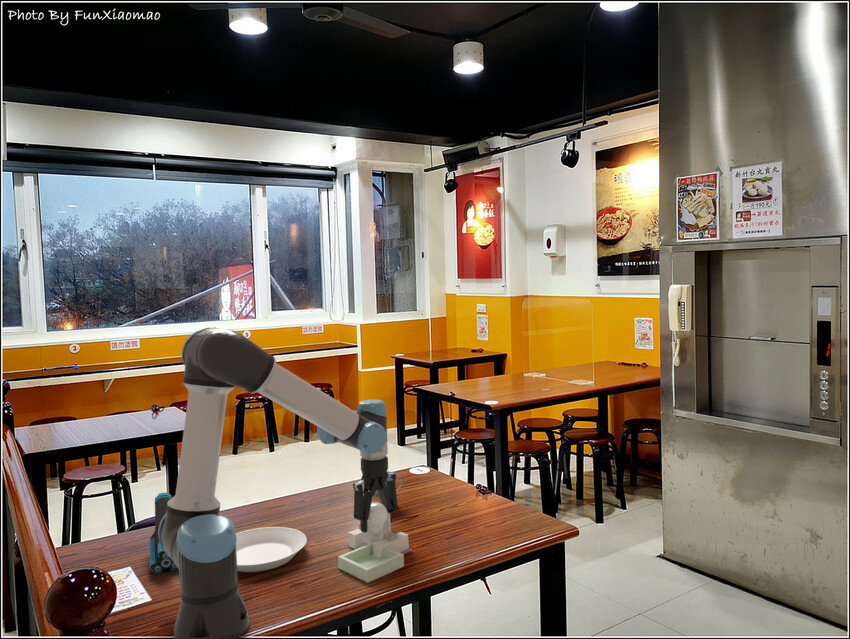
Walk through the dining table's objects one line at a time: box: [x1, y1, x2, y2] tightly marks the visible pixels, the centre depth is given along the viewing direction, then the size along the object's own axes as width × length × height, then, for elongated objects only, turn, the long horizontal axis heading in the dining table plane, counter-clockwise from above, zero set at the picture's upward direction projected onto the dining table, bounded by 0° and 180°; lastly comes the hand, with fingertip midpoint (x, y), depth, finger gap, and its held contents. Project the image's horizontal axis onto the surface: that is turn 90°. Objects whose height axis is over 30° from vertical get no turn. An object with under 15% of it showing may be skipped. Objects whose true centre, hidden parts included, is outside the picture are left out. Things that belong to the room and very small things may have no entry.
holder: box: [345, 523, 413, 559], centre depth 174 cm, size 10×17×6 cm, turn 44°
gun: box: [149, 492, 179, 575], centre depth 175 cm, size 8×26×15 cm, turn 23°
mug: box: [371, 470, 405, 504], centre depth 207 cm, size 12×9×11 cm
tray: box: [337, 542, 405, 584], centre depth 162 cm, size 12×12×3 cm
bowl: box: [235, 526, 308, 573], centre depth 172 cm, size 25×25×4 cm
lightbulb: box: [368, 502, 388, 542], centre depth 174 cm, size 6×6×11 cm
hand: (377, 538), depth 174 cm, fingers closed on lightbulb, 6 cm apart
